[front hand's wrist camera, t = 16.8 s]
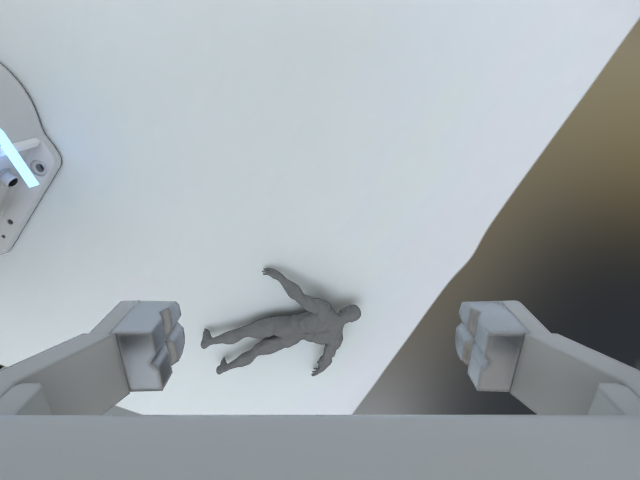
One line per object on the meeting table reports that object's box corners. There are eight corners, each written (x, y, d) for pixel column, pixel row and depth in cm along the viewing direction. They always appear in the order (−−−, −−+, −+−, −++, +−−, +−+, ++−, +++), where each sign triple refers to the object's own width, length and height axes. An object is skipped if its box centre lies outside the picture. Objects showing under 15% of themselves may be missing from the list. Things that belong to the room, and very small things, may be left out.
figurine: (243, 386, 51) (378, 353, 47) (235, 411, 47) (382, 376, 43) (188, 290, 45) (337, 243, 41) (173, 309, 41) (337, 259, 38)
